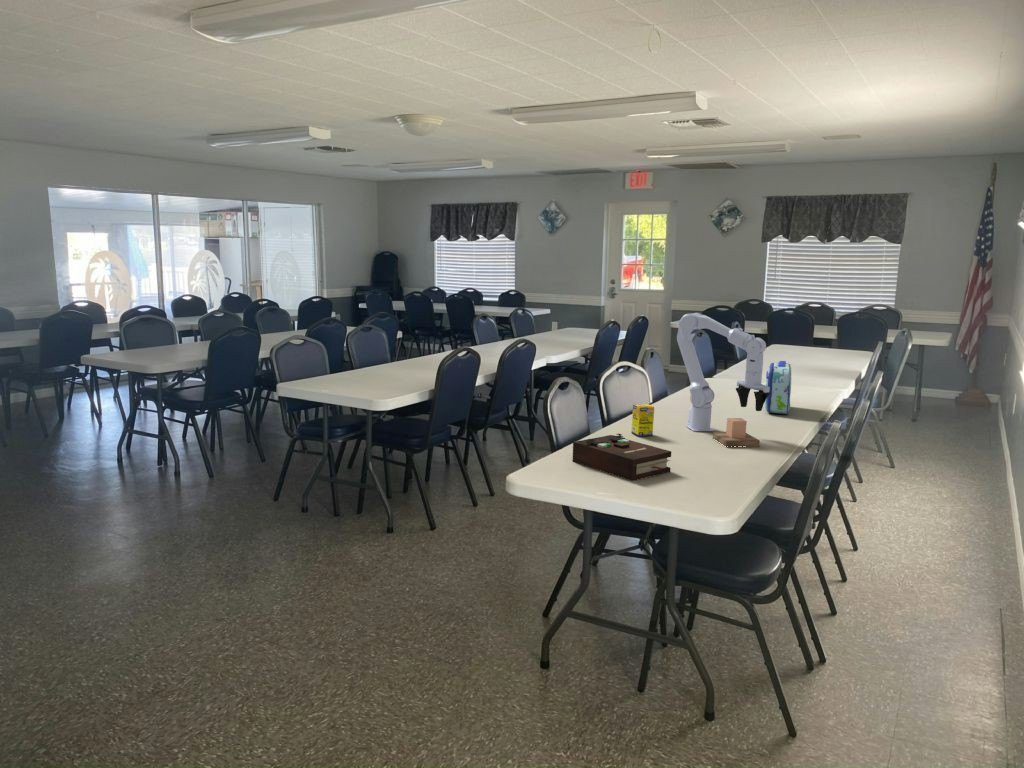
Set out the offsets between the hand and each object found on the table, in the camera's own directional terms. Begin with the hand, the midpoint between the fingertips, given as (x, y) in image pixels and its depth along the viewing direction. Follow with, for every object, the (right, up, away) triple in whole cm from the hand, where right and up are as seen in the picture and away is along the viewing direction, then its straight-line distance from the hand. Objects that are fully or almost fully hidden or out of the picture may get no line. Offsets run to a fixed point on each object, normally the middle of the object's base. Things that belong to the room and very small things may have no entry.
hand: (751, 408), depth 274 cm
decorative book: (-53, -17, -41) cm, 69 cm away
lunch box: (+27, -3, +52) cm, 59 cm away
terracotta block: (-8, -9, -8) cm, 15 cm away
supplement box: (-39, -10, +1) cm, 41 cm away
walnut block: (-8, -12, -8) cm, 17 cm away
